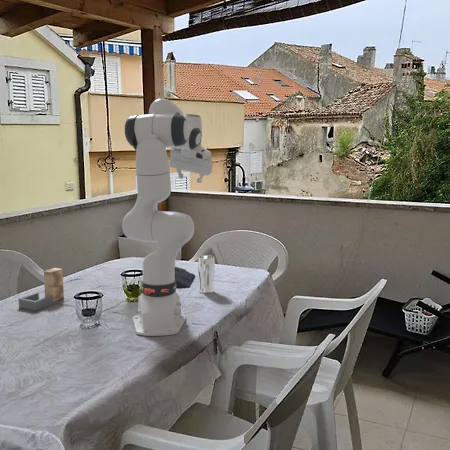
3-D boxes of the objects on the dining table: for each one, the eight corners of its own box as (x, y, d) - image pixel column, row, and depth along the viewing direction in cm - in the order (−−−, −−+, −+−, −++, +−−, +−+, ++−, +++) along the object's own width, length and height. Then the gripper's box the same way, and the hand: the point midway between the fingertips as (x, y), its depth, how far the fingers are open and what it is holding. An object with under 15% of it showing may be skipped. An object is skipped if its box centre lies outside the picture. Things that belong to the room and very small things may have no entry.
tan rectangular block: (56, 296, 205) (54, 267, 203) (63, 297, 203) (62, 268, 201) (45, 300, 199) (43, 271, 197) (52, 301, 197) (51, 272, 195)
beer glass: (215, 289, 216) (215, 255, 213) (213, 294, 209) (213, 259, 206) (199, 288, 216) (199, 254, 214) (197, 293, 209) (196, 258, 207)
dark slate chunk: (155, 288, 218) (155, 278, 217) (164, 275, 239) (164, 265, 239) (190, 289, 217) (190, 278, 216) (196, 275, 239) (196, 266, 238)
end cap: (37, 301, 198) (36, 292, 198) (53, 304, 195) (53, 295, 194) (19, 307, 190) (18, 298, 190) (35, 311, 187) (35, 302, 186)
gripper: (166, 148, 221) (166, 177, 227) (208, 156, 214) (206, 187, 220) (174, 144, 227) (173, 173, 233) (214, 153, 219) (213, 182, 225)
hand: (190, 180), depth 226 cm, fingers open, 8 cm apart
